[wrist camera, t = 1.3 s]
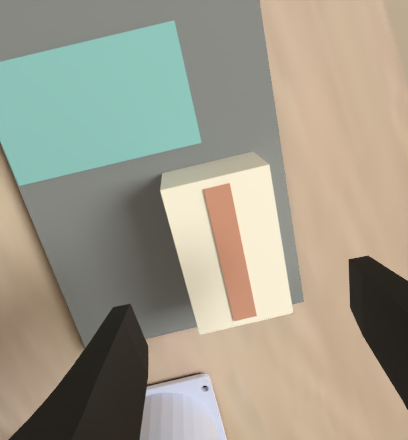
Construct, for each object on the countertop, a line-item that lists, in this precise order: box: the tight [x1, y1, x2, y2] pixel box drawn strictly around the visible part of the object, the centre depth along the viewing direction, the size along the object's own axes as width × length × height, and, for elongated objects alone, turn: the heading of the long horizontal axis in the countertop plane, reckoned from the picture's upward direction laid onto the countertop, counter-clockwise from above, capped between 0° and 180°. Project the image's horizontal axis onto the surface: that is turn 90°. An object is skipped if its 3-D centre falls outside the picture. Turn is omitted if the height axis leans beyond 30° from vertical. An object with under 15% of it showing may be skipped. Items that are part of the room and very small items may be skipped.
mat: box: [0, 0, 304, 348], centre depth 20 cm, size 20×14×1 cm
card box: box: [160, 152, 293, 335], centre depth 19 cm, size 8×5×4 cm, turn 13°
